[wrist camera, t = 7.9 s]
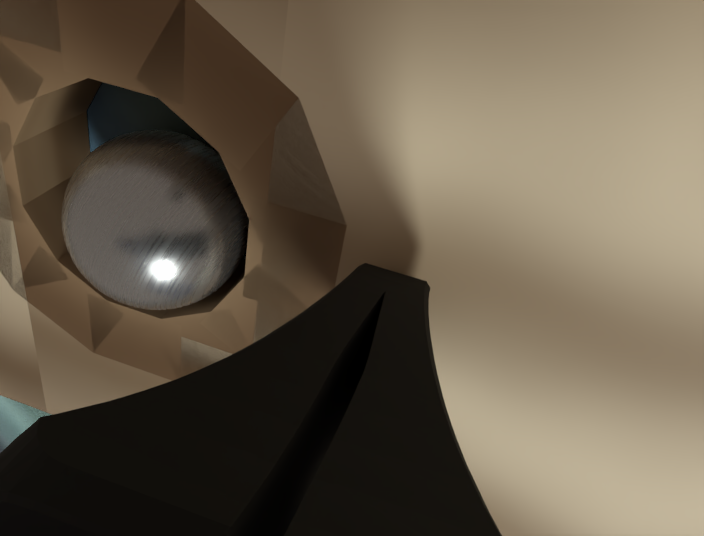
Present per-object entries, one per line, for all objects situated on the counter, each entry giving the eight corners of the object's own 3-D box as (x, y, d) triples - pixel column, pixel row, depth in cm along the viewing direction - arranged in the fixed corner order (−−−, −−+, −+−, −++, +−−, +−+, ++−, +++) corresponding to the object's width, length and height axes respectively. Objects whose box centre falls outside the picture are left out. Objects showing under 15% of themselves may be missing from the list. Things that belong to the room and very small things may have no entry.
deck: (793, 604, 17) (826, 702, 15) (-4, 322, 20) (-65, 370, 18) (1511, 14, 8) (1842, 59, 6) (-146, -314, 11) (-297, -358, 9)
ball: (138, 171, 16) (258, 259, 16) (21, 268, 14) (164, 370, 14) (155, 61, 13) (304, 170, 13) (8, 162, 11) (193, 295, 11)
